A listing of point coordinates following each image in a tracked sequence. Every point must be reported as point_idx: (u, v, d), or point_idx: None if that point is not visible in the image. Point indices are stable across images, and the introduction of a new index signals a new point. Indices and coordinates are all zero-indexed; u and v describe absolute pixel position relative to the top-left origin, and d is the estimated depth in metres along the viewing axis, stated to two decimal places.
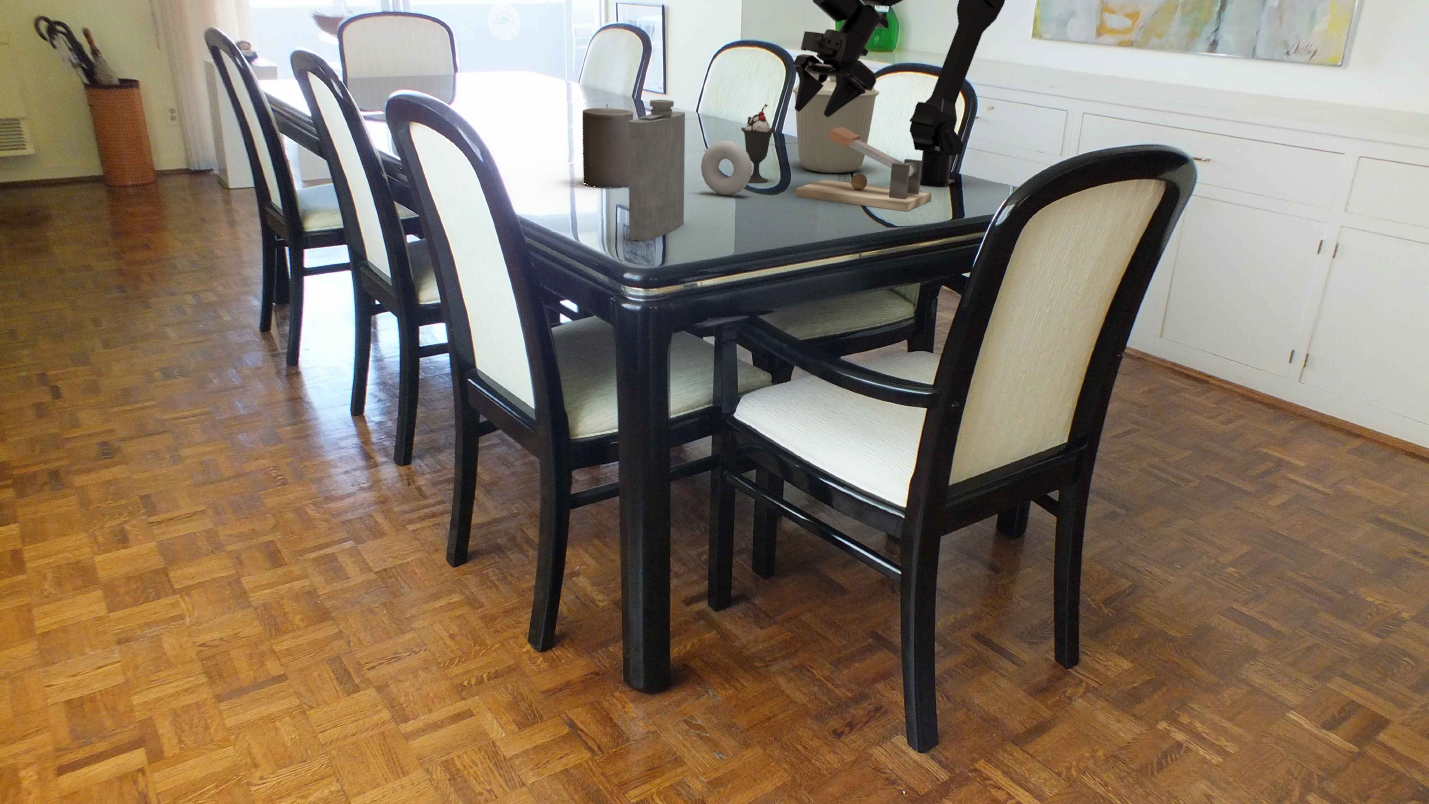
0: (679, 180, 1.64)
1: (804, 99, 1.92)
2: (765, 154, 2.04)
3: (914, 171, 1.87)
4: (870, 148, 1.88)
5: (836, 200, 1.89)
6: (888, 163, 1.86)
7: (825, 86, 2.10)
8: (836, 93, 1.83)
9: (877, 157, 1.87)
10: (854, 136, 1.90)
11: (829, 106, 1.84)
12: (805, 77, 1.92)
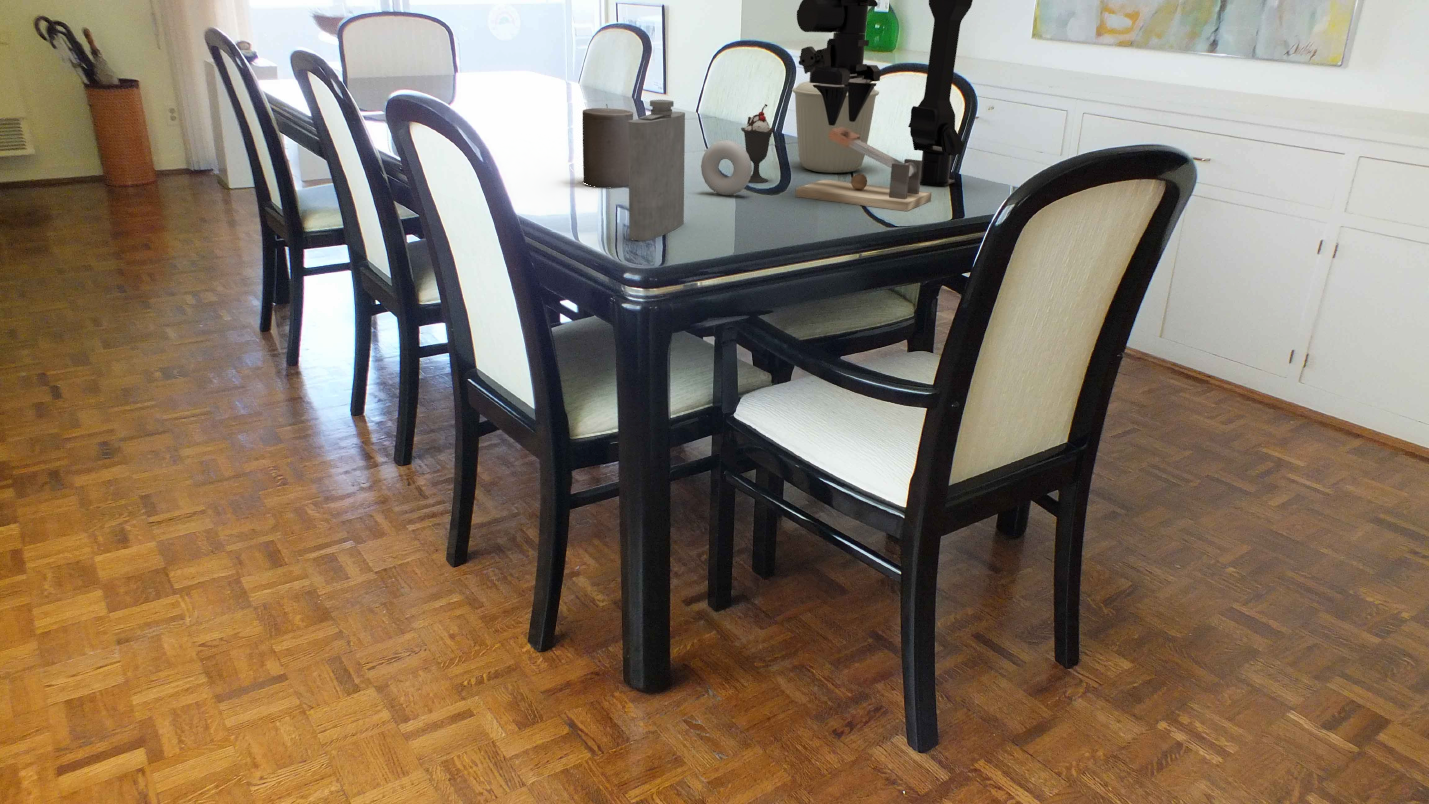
0: (679, 180, 1.64)
1: (854, 108, 1.93)
2: (765, 154, 2.04)
3: (914, 171, 1.87)
4: (870, 148, 1.88)
5: (836, 200, 1.89)
6: (888, 163, 1.86)
7: None
8: (824, 102, 1.84)
9: (877, 157, 1.87)
10: (854, 136, 1.90)
11: (827, 115, 1.85)
12: None
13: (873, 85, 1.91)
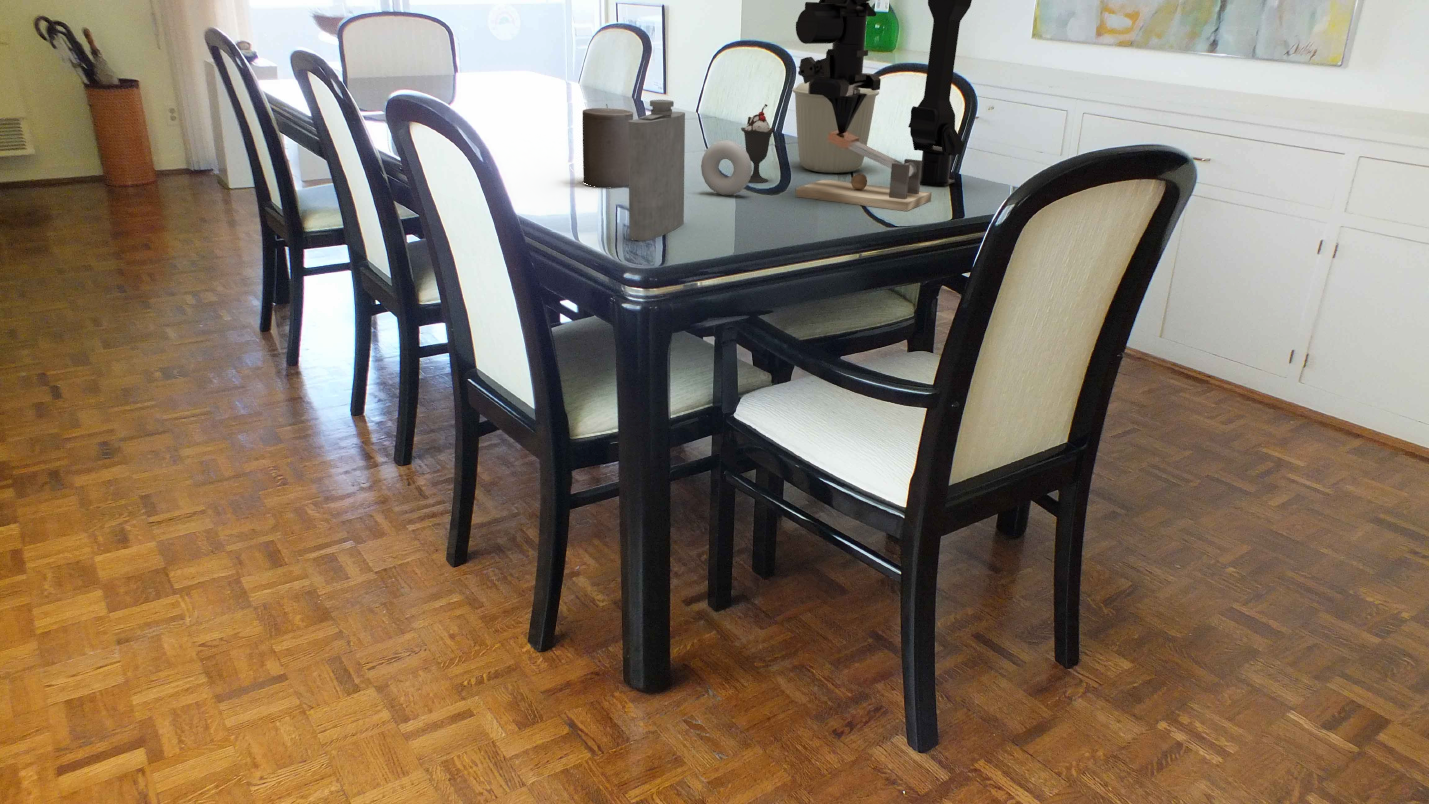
0: (679, 180, 1.64)
1: None
2: (765, 154, 2.04)
3: (914, 171, 1.87)
4: (869, 149, 1.88)
5: (836, 200, 1.89)
6: (888, 164, 1.86)
7: None
8: (834, 111, 1.89)
9: (877, 158, 1.87)
10: (853, 138, 1.90)
11: (837, 124, 1.90)
12: None
13: (863, 96, 1.88)
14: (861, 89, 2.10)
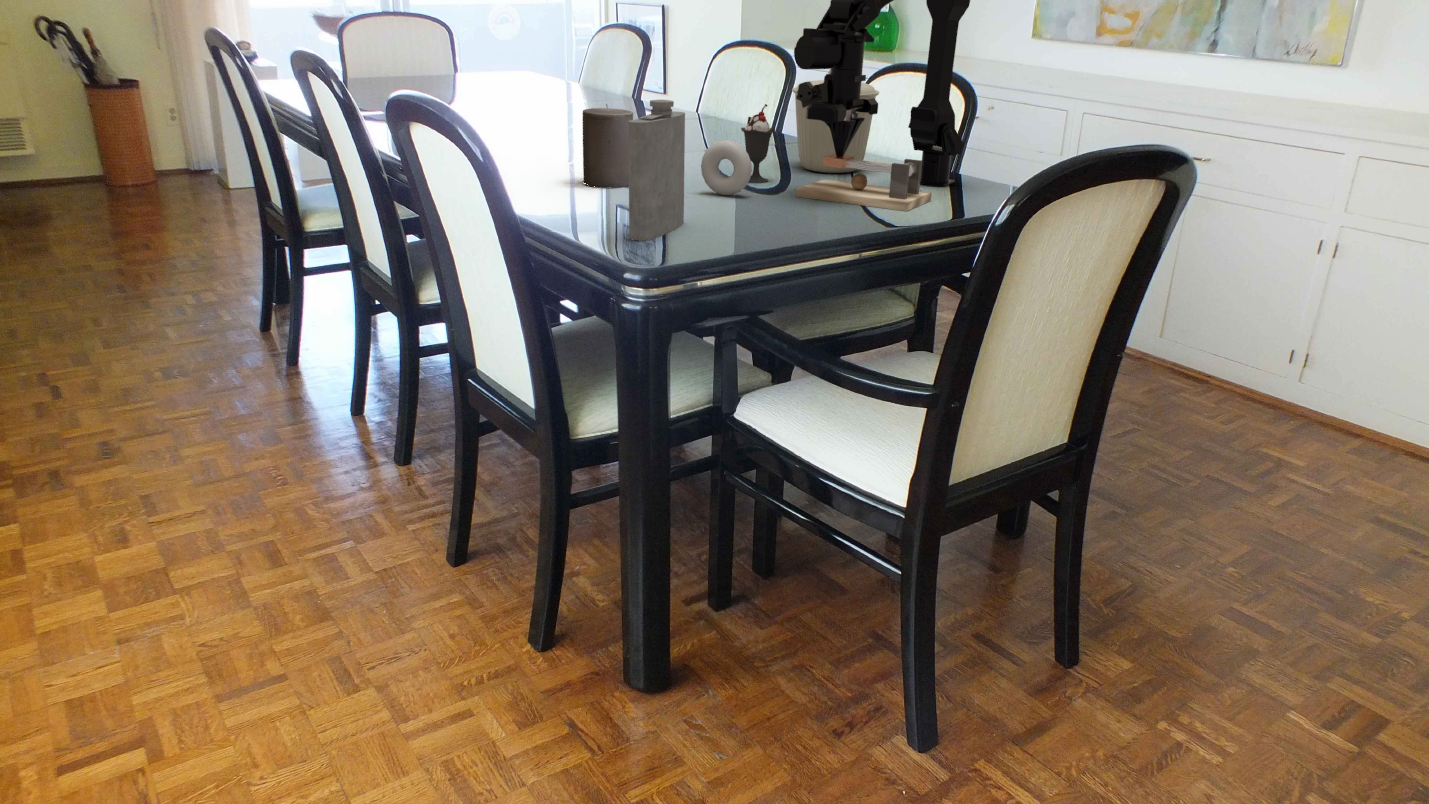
0: (679, 180, 1.64)
1: None
2: (765, 154, 2.04)
3: (914, 169, 1.86)
4: (866, 162, 1.90)
5: (836, 200, 1.89)
6: (887, 169, 1.87)
7: None
8: (832, 135, 1.90)
9: (874, 167, 1.88)
10: (847, 157, 1.92)
11: (834, 147, 1.91)
12: None
13: (861, 120, 1.90)
14: (861, 89, 2.10)
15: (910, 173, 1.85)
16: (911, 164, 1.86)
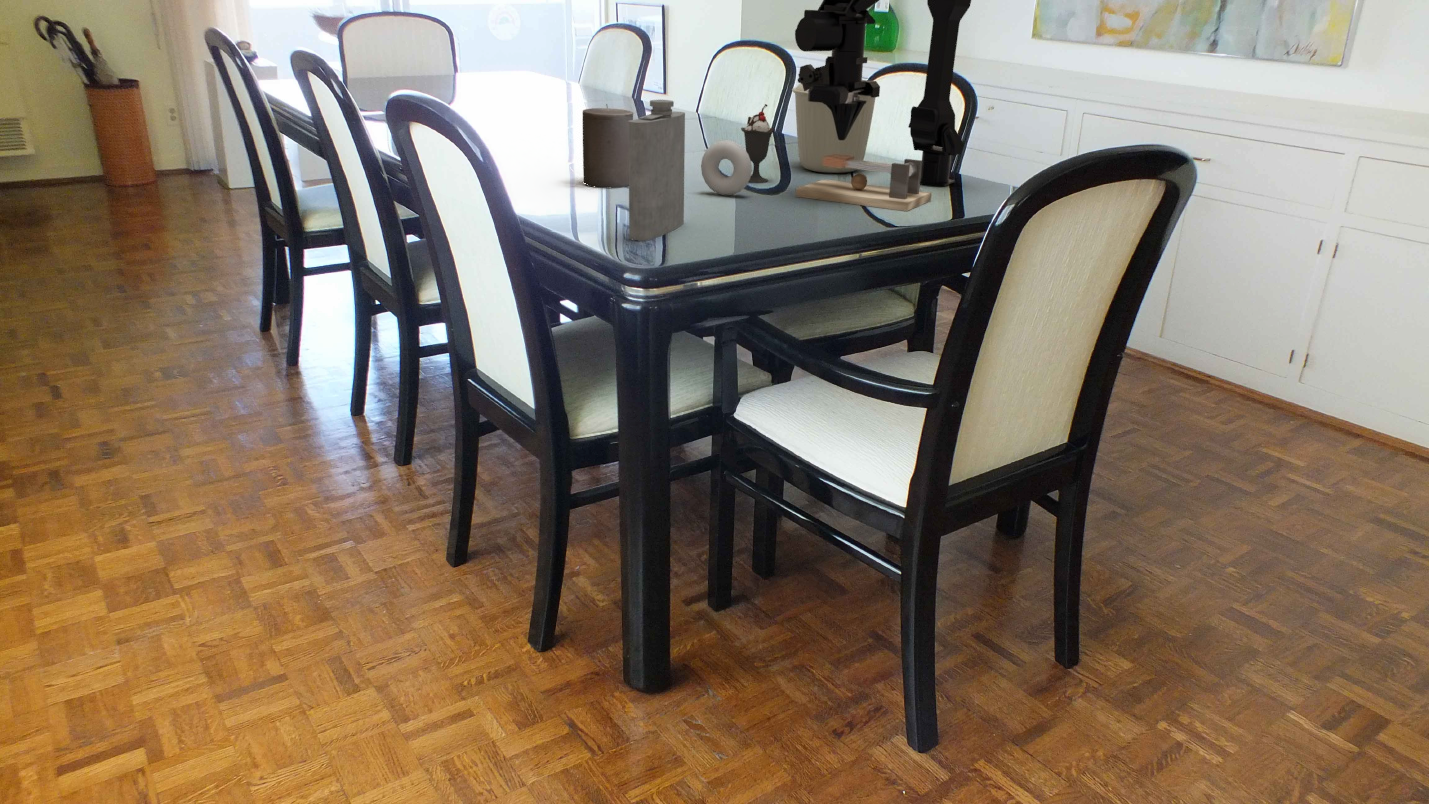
0: (679, 180, 1.64)
1: None
2: (765, 154, 2.04)
3: (914, 169, 1.86)
4: (866, 162, 1.90)
5: (836, 200, 1.89)
6: (887, 169, 1.87)
7: None
8: (833, 118, 1.89)
9: (874, 167, 1.88)
10: (847, 157, 1.92)
11: (836, 131, 1.90)
12: None
13: (863, 103, 1.89)
14: None
15: (910, 173, 1.85)
16: (911, 164, 1.86)
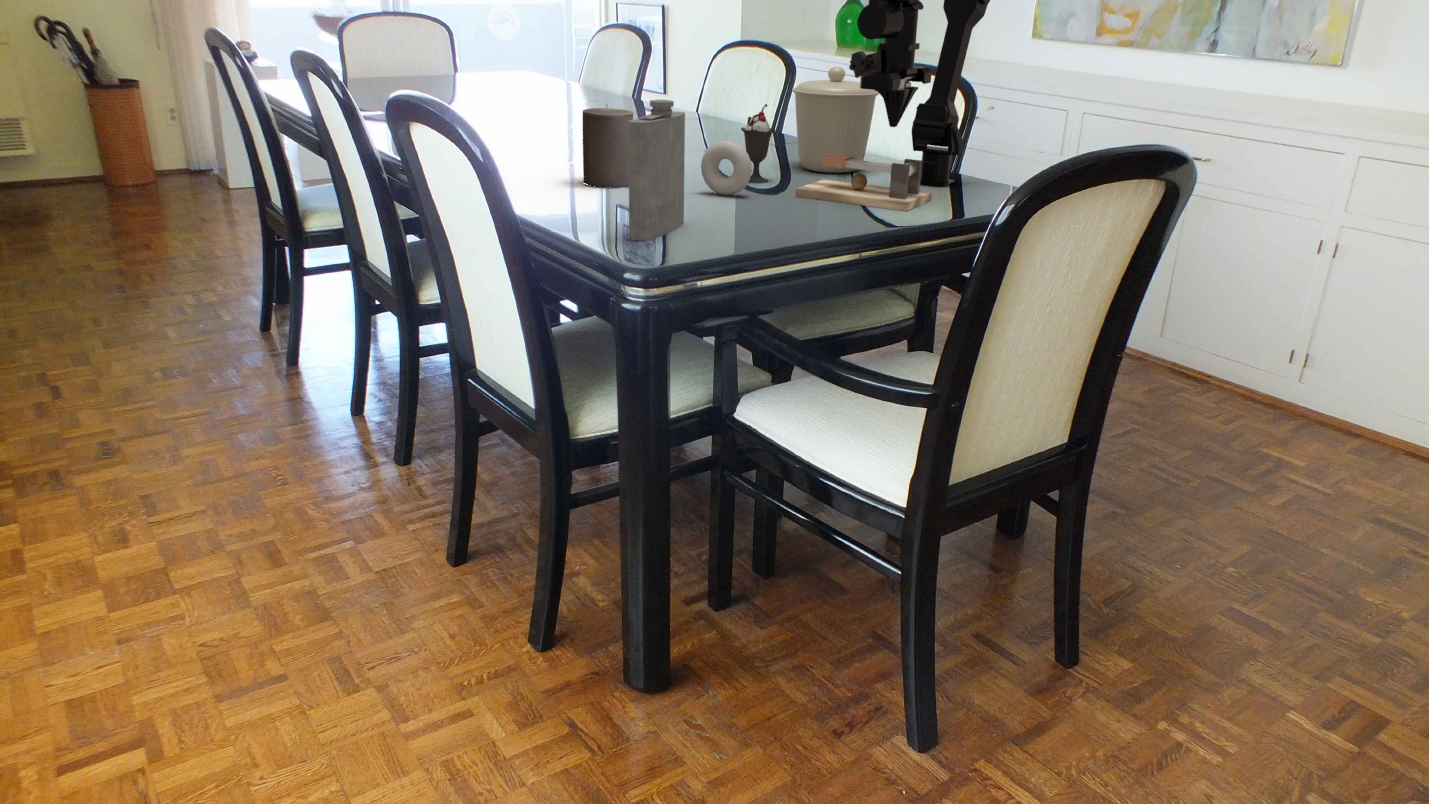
0: (679, 180, 1.64)
1: None
2: (765, 154, 2.04)
3: (914, 169, 1.86)
4: (866, 162, 1.90)
5: (836, 200, 1.89)
6: (887, 169, 1.87)
7: (825, 86, 2.10)
8: (885, 104, 1.89)
9: (874, 167, 1.88)
10: (847, 157, 1.92)
11: (888, 117, 1.90)
12: None
13: (915, 89, 1.88)
14: (861, 89, 2.10)
15: (910, 173, 1.85)
16: (911, 164, 1.86)
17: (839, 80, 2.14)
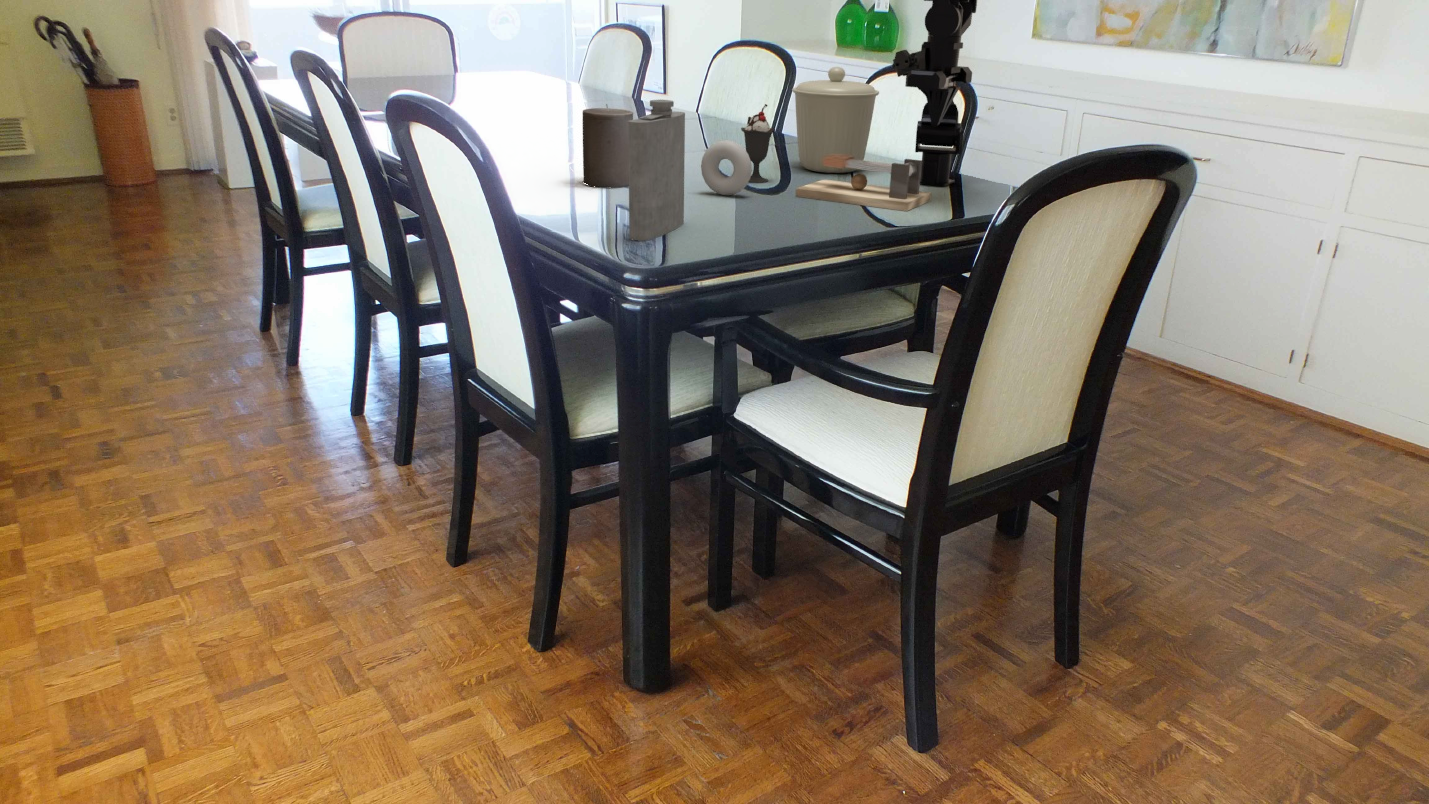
0: (679, 180, 1.64)
1: None
2: (765, 154, 2.04)
3: (914, 169, 1.86)
4: (866, 162, 1.90)
5: (836, 200, 1.89)
6: (887, 169, 1.87)
7: (825, 86, 2.10)
8: (928, 103, 1.89)
9: (874, 167, 1.88)
10: (847, 157, 1.92)
11: (930, 116, 1.90)
12: None
13: (957, 88, 1.89)
14: (861, 89, 2.10)
15: (910, 173, 1.85)
16: (911, 164, 1.86)
17: (839, 80, 2.14)
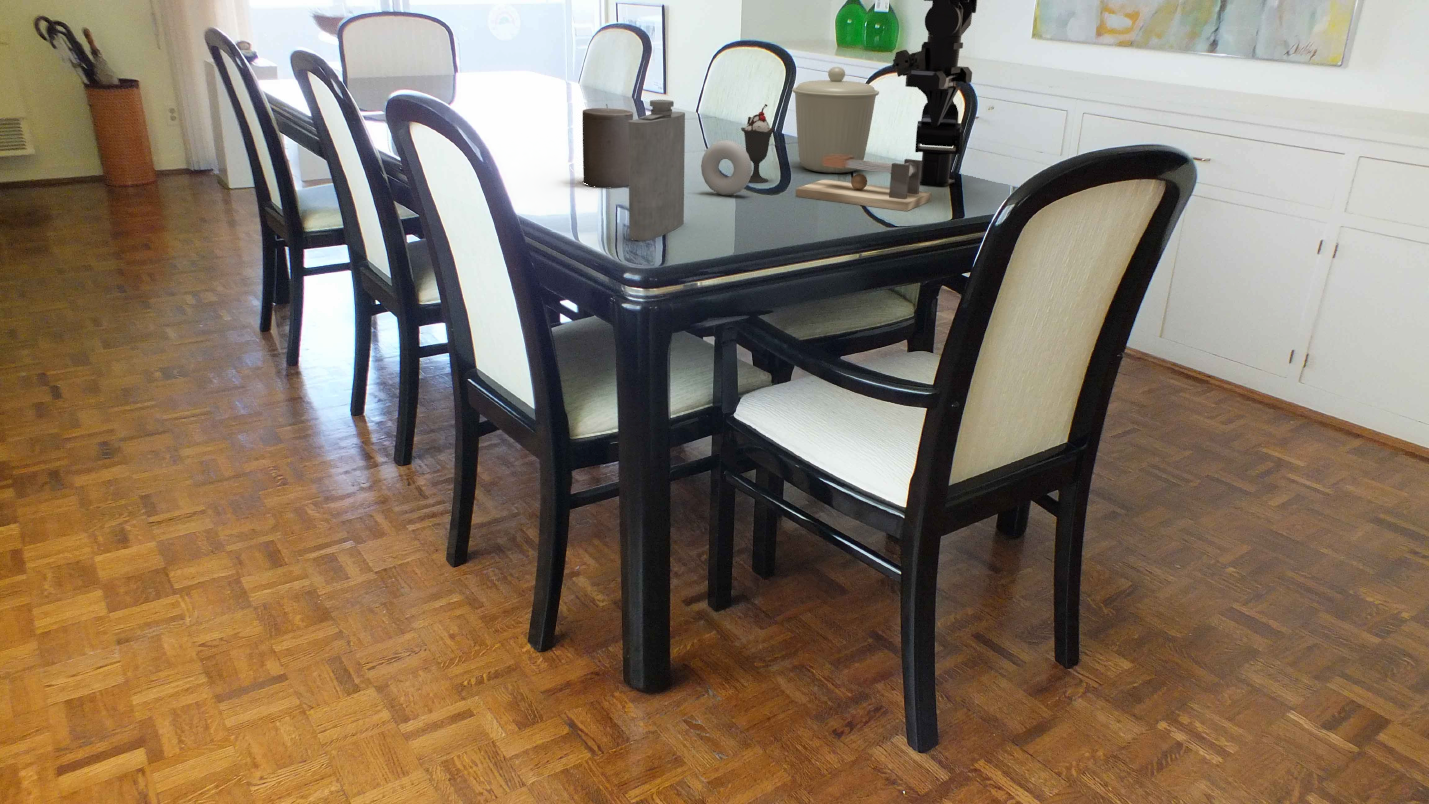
0: (679, 180, 1.64)
1: None
2: (765, 154, 2.04)
3: (914, 169, 1.86)
4: (866, 162, 1.90)
5: (836, 200, 1.89)
6: (887, 169, 1.87)
7: (825, 86, 2.10)
8: (928, 103, 1.89)
9: (874, 167, 1.88)
10: (847, 157, 1.92)
11: (930, 116, 1.90)
12: None
13: (957, 88, 1.89)
14: (861, 89, 2.10)
15: (910, 173, 1.85)
16: (911, 164, 1.86)
17: (839, 80, 2.14)
